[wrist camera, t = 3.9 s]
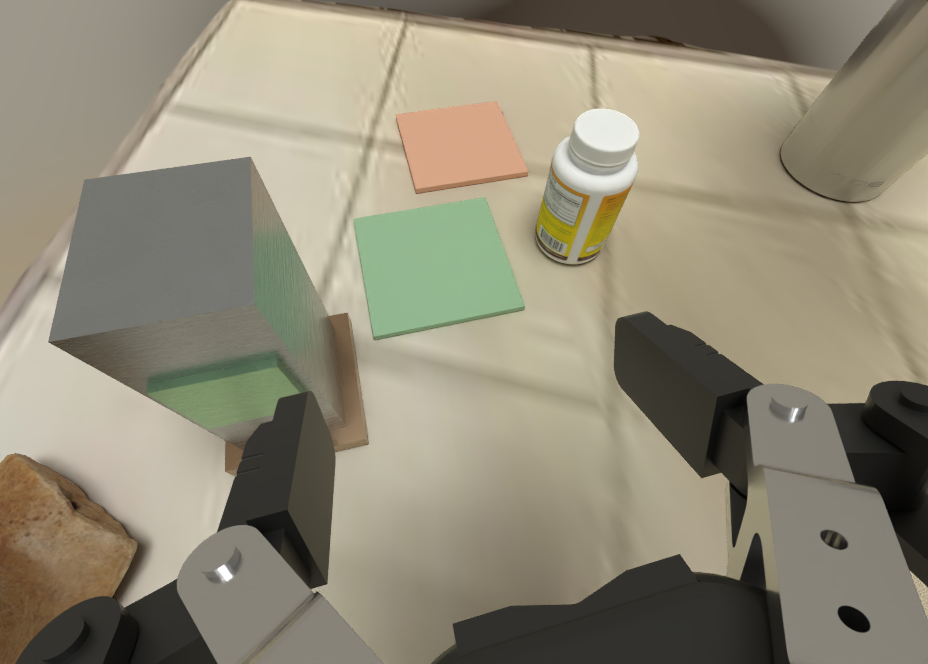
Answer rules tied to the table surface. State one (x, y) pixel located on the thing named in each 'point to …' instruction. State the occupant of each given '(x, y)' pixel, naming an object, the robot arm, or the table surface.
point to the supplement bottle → (587, 186)
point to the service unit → (204, 303)
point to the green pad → (434, 268)
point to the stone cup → (51, 551)
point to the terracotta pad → (459, 146)
